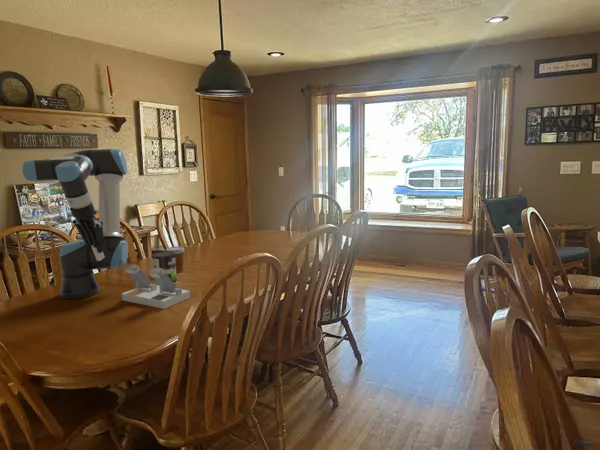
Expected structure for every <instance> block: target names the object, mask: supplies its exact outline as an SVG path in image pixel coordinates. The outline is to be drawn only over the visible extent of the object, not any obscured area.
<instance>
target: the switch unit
mask: <svg viewBox="0 0 600 450" xmlns="http://www.w3.org/2000/svg"><path fill="white" fill-rule="evenodd" d="M152 284H153V285H150V287H151V288H149V289H146V288H141V287H139V286H138V284H137V283H136V282H135V288H133V289H130V290H128V291H125V292H122V293H121V297H122V298H121V299H122V301H125V302H128V303H135V304H138V305H144V306H149V307H154V308H158V309H163V310H165V309H167V308H170V307H173V306H174V305H176V304H179V303H181V302H183V301H187V300H188V299H190V298H191V296H190V295H191V294H190V290H187V289H182V288H181V287H179V288H177V289H175V293H169V292H164V291H163V290H162V288H161V287H160V286H158V285H157V284H154V283H152Z"/></svg>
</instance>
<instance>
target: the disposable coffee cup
mask: <svg viewBox="0 0 600 450" xmlns="http://www.w3.org/2000/svg"><path fill="white" fill-rule="evenodd" d="M167 251H169V252H175V262H176V274H177V273H182V272H183V271H184V261H185V260H184V255H185V248H184V247H183V246H177V245H176V246H170V247H167V248H165V250H164V252H167Z"/></svg>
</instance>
